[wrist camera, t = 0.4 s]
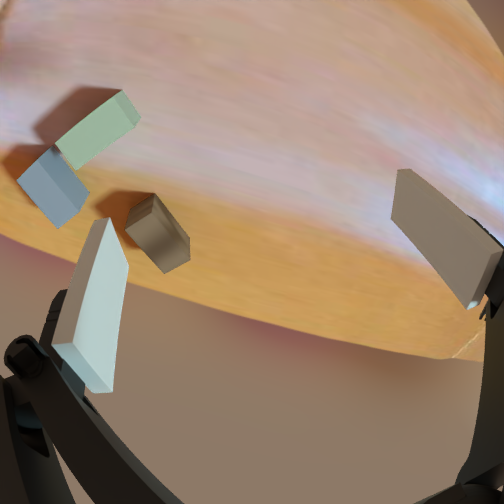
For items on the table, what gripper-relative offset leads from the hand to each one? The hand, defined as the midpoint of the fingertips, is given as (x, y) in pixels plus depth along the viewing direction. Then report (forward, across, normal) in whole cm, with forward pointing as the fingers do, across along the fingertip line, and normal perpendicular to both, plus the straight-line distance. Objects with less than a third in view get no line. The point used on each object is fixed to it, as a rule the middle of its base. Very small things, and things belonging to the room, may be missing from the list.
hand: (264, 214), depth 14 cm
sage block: (+25, -13, +1) cm, 28 cm away
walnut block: (+25, -10, -14) cm, 30 cm away
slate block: (+25, -21, -4) cm, 33 cm away
